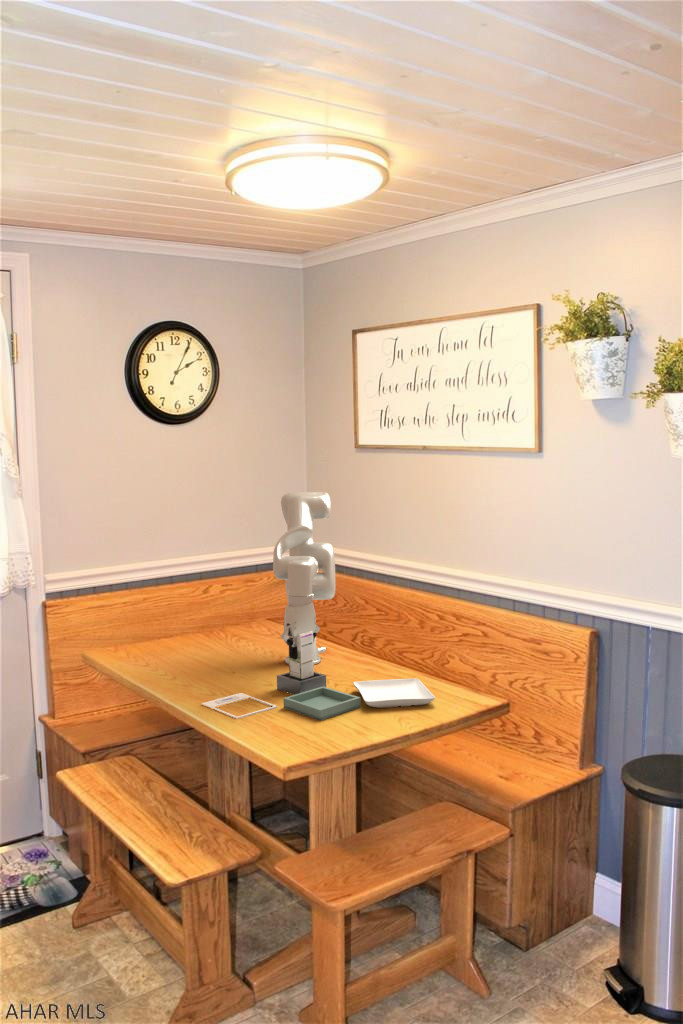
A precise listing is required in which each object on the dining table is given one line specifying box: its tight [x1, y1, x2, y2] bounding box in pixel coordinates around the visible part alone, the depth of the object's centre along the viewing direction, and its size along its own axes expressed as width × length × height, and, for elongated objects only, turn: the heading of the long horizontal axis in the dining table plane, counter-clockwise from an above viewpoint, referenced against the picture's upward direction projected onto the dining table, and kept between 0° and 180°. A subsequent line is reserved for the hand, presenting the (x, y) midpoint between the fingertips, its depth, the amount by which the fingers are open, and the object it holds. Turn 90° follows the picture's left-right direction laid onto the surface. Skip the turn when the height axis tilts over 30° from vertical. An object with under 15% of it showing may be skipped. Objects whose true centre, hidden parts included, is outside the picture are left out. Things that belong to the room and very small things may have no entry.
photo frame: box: [200, 692, 278, 720], centre depth 254 cm, size 15×1×18 cm
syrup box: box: [288, 631, 315, 679], centre depth 269 cm, size 6×6×14 cm
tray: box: [283, 686, 362, 722], centre depth 251 cm, size 16×16×3 cm
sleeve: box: [276, 671, 327, 695], centre depth 270 cm, size 11×11×4 cm
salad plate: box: [352, 677, 436, 709], centre depth 260 cm, size 21×21×3 cm
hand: (301, 655), depth 269 cm, fingers closed on syrup box, 5 cm apart
